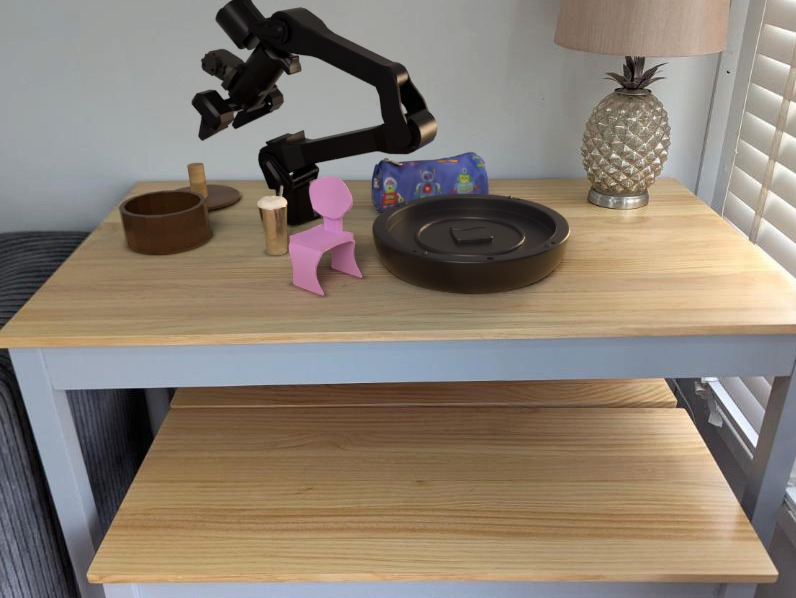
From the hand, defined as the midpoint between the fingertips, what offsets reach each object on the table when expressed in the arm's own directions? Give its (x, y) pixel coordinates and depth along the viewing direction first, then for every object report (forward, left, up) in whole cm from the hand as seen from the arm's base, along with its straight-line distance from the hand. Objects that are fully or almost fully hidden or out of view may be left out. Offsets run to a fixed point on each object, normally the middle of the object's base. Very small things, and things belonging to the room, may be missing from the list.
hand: (217, 132), depth 138 cm
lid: (+6, +2, -13) cm, 14 cm away
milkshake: (-25, +8, -14) cm, 29 cm away
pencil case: (-29, -24, -14) cm, 40 cm away
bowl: (-7, +17, -14) cm, 23 cm away
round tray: (-50, -10, -14) cm, 53 cm away
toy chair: (-40, +11, -14) cm, 43 cm away
